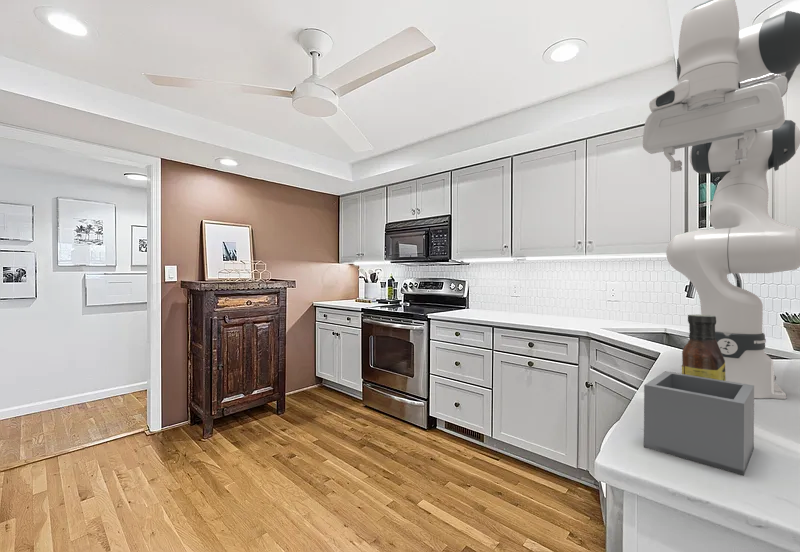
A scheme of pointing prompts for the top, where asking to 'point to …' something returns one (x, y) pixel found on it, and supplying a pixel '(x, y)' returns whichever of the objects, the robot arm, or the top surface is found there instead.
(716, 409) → the bin
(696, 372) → the sauce bottle
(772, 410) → the top surface
